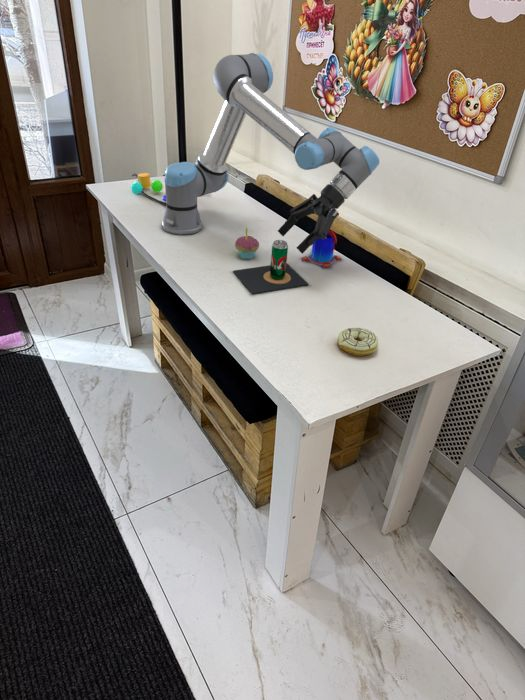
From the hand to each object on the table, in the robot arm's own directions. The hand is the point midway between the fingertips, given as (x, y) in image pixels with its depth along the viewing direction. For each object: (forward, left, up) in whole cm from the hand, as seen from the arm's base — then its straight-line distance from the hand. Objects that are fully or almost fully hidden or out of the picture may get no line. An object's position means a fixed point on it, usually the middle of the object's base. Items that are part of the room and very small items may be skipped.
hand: (289, 242), depth 161 cm
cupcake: (-19, -6, -13) cm, 24 cm away
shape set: (-86, -14, -13) cm, 88 cm away
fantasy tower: (-9, +19, -13) cm, 24 cm away
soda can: (0, -3, -12) cm, 12 cm away
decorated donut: (+42, +1, -13) cm, 44 cm away
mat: (-1, -5, -13) cm, 14 cm away
